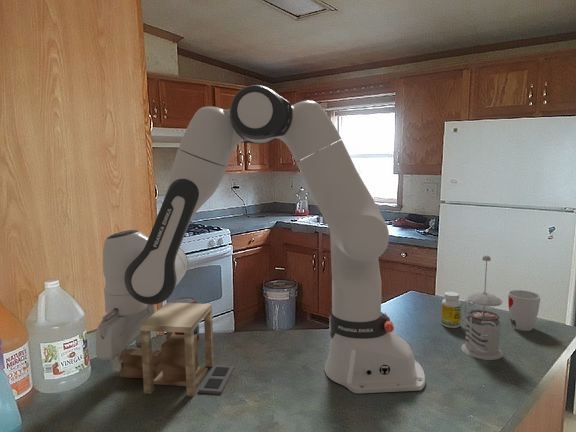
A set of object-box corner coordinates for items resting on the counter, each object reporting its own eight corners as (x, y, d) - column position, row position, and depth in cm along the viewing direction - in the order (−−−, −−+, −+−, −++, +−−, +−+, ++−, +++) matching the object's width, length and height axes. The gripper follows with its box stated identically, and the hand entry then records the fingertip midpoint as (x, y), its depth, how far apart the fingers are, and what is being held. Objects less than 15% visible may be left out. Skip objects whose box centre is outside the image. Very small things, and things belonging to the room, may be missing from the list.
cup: (508, 320, 127) (510, 288, 125) (539, 326, 122) (541, 293, 121) (504, 328, 120) (506, 295, 119) (536, 335, 115) (539, 300, 114)
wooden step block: (207, 370, 98) (205, 335, 96) (197, 386, 91) (195, 348, 89) (130, 366, 100) (128, 331, 99) (115, 381, 93) (112, 344, 92)
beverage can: (193, 349, 109) (191, 305, 108) (169, 347, 111) (167, 303, 109) (203, 338, 116) (201, 296, 114) (180, 336, 117) (179, 295, 115)
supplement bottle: (445, 320, 127) (447, 289, 126) (463, 324, 123) (464, 293, 122) (437, 324, 124) (438, 293, 122) (455, 330, 120) (456, 297, 118)
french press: (483, 363, 100) (489, 261, 97) (447, 344, 111) (451, 252, 107) (512, 355, 104) (518, 257, 101) (474, 337, 115) (478, 248, 111)
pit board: (234, 368, 99) (234, 365, 99) (221, 394, 88) (221, 390, 88) (214, 367, 99) (213, 364, 99) (198, 392, 89) (198, 389, 88)
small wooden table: (213, 364, 101) (211, 304, 99) (193, 396, 87) (190, 327, 85) (170, 361, 102) (167, 302, 100) (144, 393, 89) (140, 325, 87)
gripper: (114, 319, 83) (118, 384, 85) (158, 288, 103) (160, 341, 105) (85, 318, 84) (89, 382, 86) (134, 287, 104) (137, 340, 106)
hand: (129, 359), depth 96 cm, fingers open, 8 cm apart
